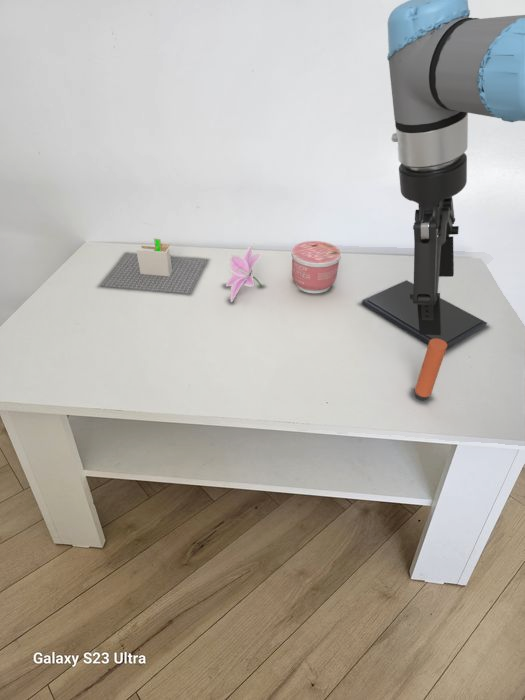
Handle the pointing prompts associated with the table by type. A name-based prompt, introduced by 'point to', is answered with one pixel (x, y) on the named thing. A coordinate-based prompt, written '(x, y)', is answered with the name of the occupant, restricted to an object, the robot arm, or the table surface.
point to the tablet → (405, 315)
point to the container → (315, 265)
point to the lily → (242, 271)
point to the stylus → (430, 368)
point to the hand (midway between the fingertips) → (437, 302)
